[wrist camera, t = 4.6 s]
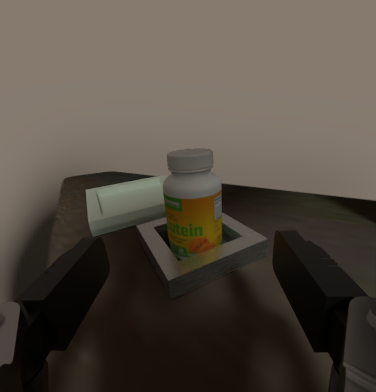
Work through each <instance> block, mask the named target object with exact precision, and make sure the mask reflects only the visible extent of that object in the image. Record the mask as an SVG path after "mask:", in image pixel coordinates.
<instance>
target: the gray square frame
mask: <svg viewBox="0 0 376 392" xmlns="http://www.w3.org/2000/svg"><path fill="white" fill-rule="evenodd" d="M136 227H137V233H138V238H139V241H140V243H141V245H142V246H143V248H144V250H145V252H146V254H147V256H148V258H149V260H150V261H151V263H152V265H153V267H154V269H155V271H156V273H157V275H158V277H159V278H160V280H161V282H162V284H163V286H164V288H165V290H166V292H167V293H168V295H169V297H170V299H171V300H172V299H174V298H176V297H178V296H181V295H183V294H185V293H187V292H189V291H191V290H193V289H196V288H198V287H200V286H202V285H204V284H206V283H208V282H211V281H213V280H215V279H217V278H219V277H221V276H223V275H226V274H228V273H230V272H232V271H234V270H236V269H238V268H241V267H243V266H245V265H247V264H249V263H251V262H253V261H256V260H258V259H260V258H262V257H264V256H266V254H267V241H268V239H267V238H265V237H264V236H262V235H260V234H259V233H257V232H255V231H253V230H252V229H250V228H248V227H247V226H245V225H243V224H241V223H240V222H238V221H236V220H234V219H233V218H231V217H229V216H228V215H226V214H224V213H222V237H223V238H224V239H226V240H227V241H228V242H227V243H225V244H222V245H219V246H217V247H214V248H212V249H209V250H207V251H204V252H201V253H199V254H196V255H194V256H191V257H189V258H186V259H183V260H181V261H178V259H177V258H176V257H175V255H174V254H173V253H172V251H171V250H170V249H169V247H168V246H167V245H166V243H165V242H164V241H163V239H165V238H168V228H167V220H166V217H164V218H161V219H157V220H154V221H150V222H147V223H143V224H140V225H136Z"/></svg>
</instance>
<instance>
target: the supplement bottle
mask: <svg viewBox="0 0 376 392" xmlns="http://www.w3.org/2000/svg"><path fill="white" fill-rule="evenodd" d="M167 162H168V167H169V168H168V169H169V171H171V175H170V176H169V177H167V178H166V179H165V181H164V183H163V195H164V203H165V211H166V220H167V228H168V237H169V245H170V250H171V251H172V253H173V254H174V255H175V257H177V258H178V259H180V260H183V259H186V258H189V257H191V256H194V255H196V254H199V253H201V252H204V251H207V250H209V249H212V248H214V247H217V246H219V245H222V187H221V180H220V178H219V177H218V176H217V175H216V174H214V173H212V172H211V170H210V169H211V168H212V167H213V152H212V150H209V149H185V150H177V151H173V152H169V153H168V154H167Z"/></svg>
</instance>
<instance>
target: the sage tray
mask: <svg viewBox="0 0 376 392" xmlns="http://www.w3.org/2000/svg"><path fill="white" fill-rule="evenodd" d="M166 178H167V177H166V176H164V175H162V176H157V177H151V178H146V179H141V180H135V181H130V182H125V183H120V184H114V185H109V186H104V187H98V188H93V189H88V190H86V199H87V211H88V223H89V226H90V230H91V233H92V237H95V236H99V235H102V234H106V233H109V232H113V231H116V230H120V229H124V228H127V227H131V226H134V225H138V224H141V223H145V222H149V221H152V220H156V219H159V218H163V217H166V211H165V203H164V195H163V183H164V181H165V179H166Z"/></svg>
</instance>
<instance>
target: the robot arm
mask: <svg viewBox="0 0 376 392" xmlns="http://www.w3.org/2000/svg"><path fill="white" fill-rule="evenodd" d="M272 262H273V269H274V272H275V275H276V277H277V279H278V281H279V283H280V285H281V287H282V289H283V291H284V293H285V295H286V297H287V299H288V301H289V303H290V305H291V307H292V309H293V311H294V313H295V315H296V317H297V319H298V321H299V323H300V325H301V327H302V329H303V330H304V332H305V334H306V336H307V338H308V340H309V342H310V344H311V346H312V348H313V350H314V352H328V353H329V355H330V357H331V359H332V360H333V364H332V368H331V375H330V381H329V388H328V392H376V298H372V297H369V296H368V295H367V294H366V293H365V292H364V291H363V290H362V289H361V288H360V287H359V286H358V285H357V284H356V283H355V282H354V281H353V280H352V279H351V278H350V277H349V276H348V275H347V274H346V273H345V271H344V270H343V269H342V268H341V267H338V264H337V263H336V262H335V261H334V260H333V259H331V258H330V256H329V255H328V254H327V253H326V252H325V251H324V250H323V249H322V248H321V247H319V246H317V245H316V244H314V243H312V242H310V241H305V240H304V239H303V238H302V237H301V236H300V235H299V233H298V232H297V231H295V230H282V231H276V232H275V237H274V248H273V260H272ZM109 269H110V266H109V261H108V257H107V253H106V249H105V245H104V242H103V239H102V238H100V237H92V238H83V239H81V240H80V241H79V242H78V243H77V244H76V245H75V246H74V248H73V249H71V250H69V251H68V252H66V253H64V254H63V255H61V256H60V257H59V258H58V259H57V260H56V261H55V262H54V263H53V264H52V266H50V267H49V268H48V269H47V270H46V271H45V272H44V274H41V276H40V277H39V278H37V279H36V280H35V282H33V284H31V285H30V286H29V287H28V288H27V289H26V290H25V291H24V292H23V293H22V294H21V295H20V296H19V297H18V298H17V299H16V300H15V301H14V302H7V303H3V304H0V392H48V362H47V360H46V358H47V356H48V355H49V353H50V351H65V350H66V348H67V347H68V345H69V343H70V341H71V340H72V338H73V336H74V335H75V333H76V331H77V329H78V328H79V326H80V324H81V322H82V321H83V319H84V317H85V315H86V314H87V312H88V310H89V309H90V307H91V305H92V303H93V302H94V300H95V298H96V296H97V295H98V293H99V291H100V290H101V288H102V286H103V284H104V283H105V281H106V279H107V277H108V275H109Z"/></svg>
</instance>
